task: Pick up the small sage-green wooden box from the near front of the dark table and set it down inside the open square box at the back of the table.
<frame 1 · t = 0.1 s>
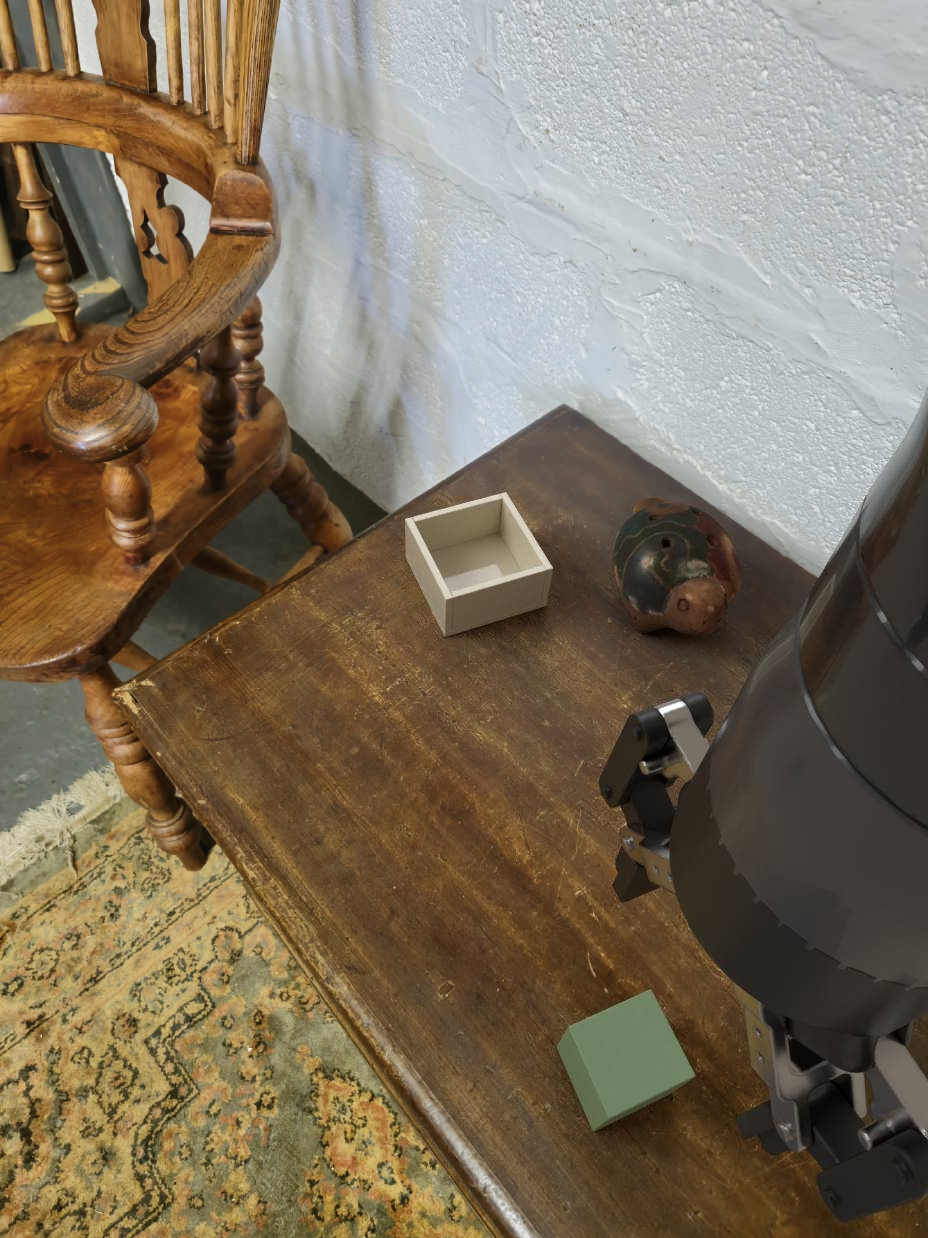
hand: (695, 993, 31), 19 cm above the table, tool pointing down, fingers open, 8 cm apart
green box: (613, 1069, 47), on the table
camera: (771, 800, 58), on the table
decorative turtle: (661, 599, 68), on the table
open square box: (474, 581, 68), on the table
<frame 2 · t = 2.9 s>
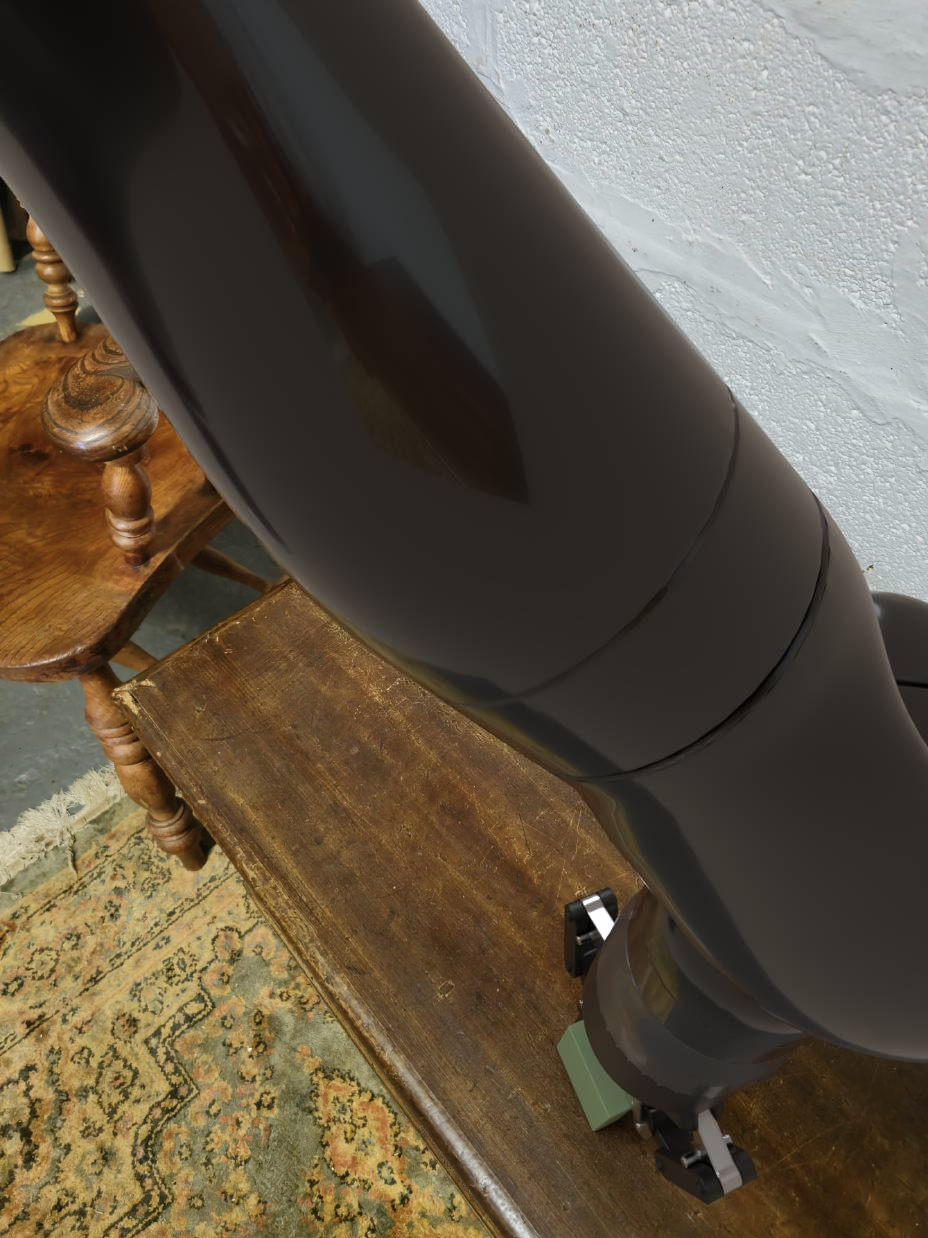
hand: (615, 1068, 47), 0 cm above the table, tool pointing down, fingers closed on green box, 4 cm apart
green box: (613, 1069, 47), on the table, touching gripper
everything else where it was.
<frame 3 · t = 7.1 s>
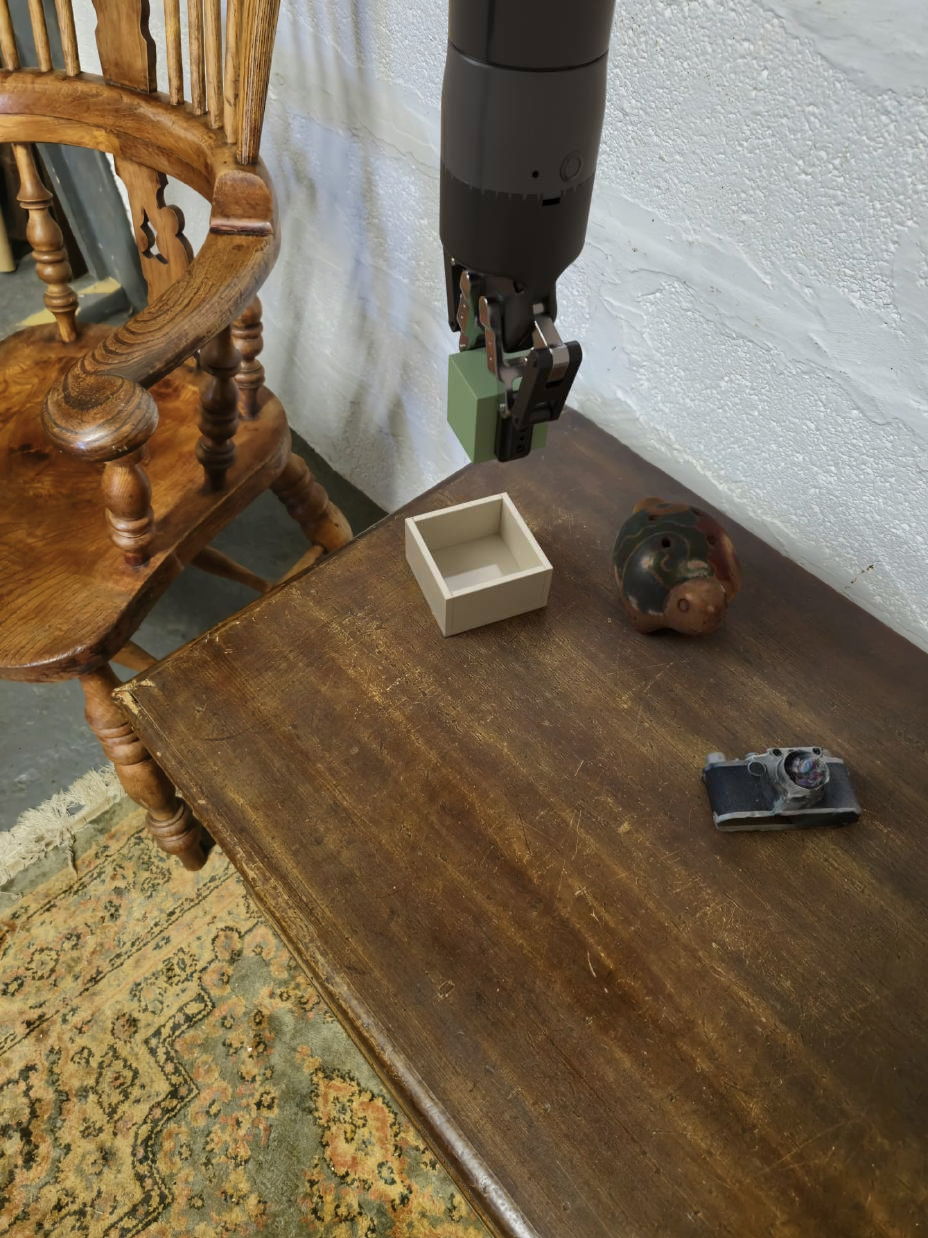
hand: (495, 429, 54), 17 cm above the table, tool pointing down, fingers closed on green box, 4 cm apart
green box: (495, 433, 54), point 17 cm above the table, touching gripper
everything else where it was.
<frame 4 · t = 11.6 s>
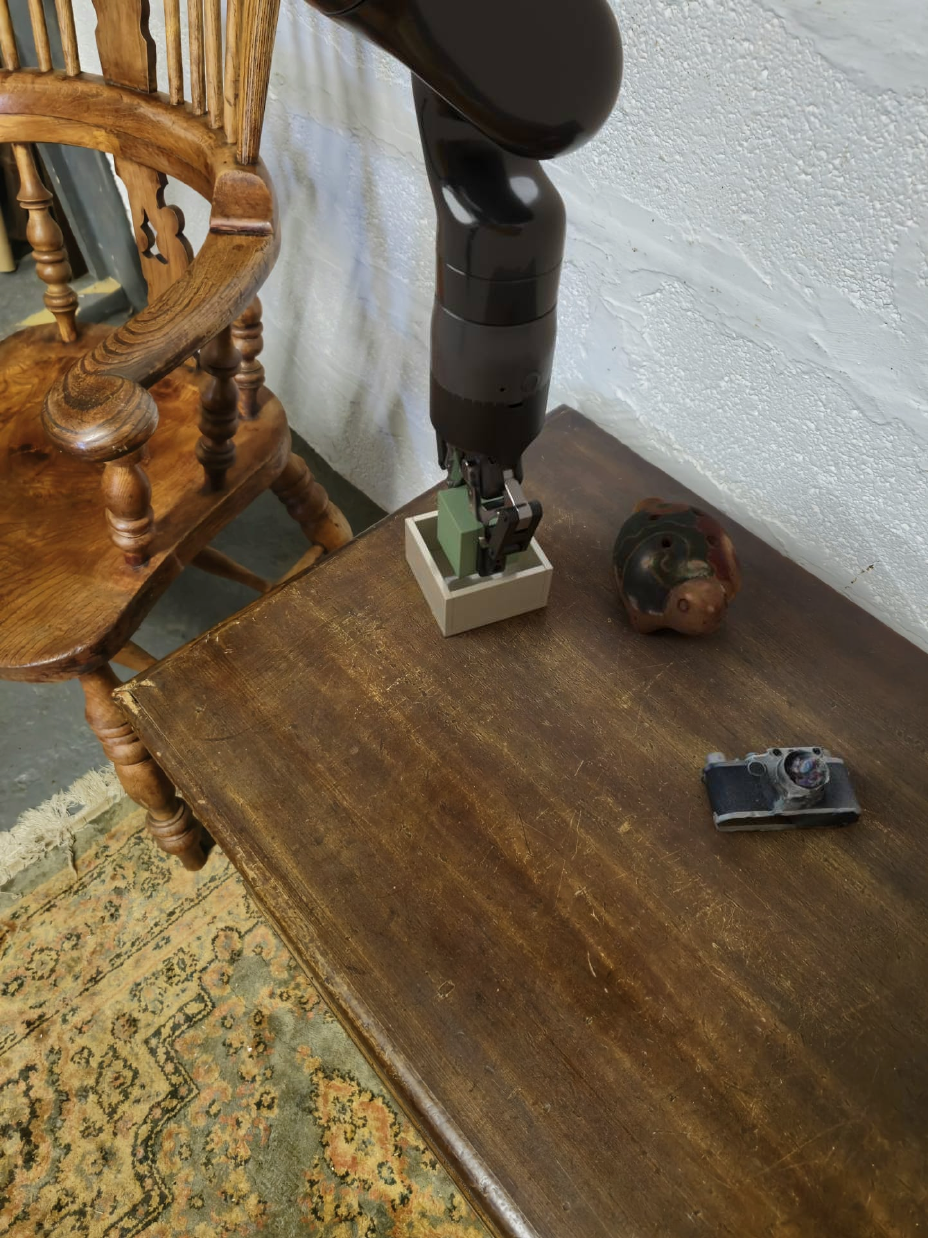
hand: (477, 547, 65), 4 cm above the table, tool pointing down, fingers closed on green box, 4 cm apart
green box: (477, 549, 65), point 4 cm above the table, touching gripper
everything else where it was.
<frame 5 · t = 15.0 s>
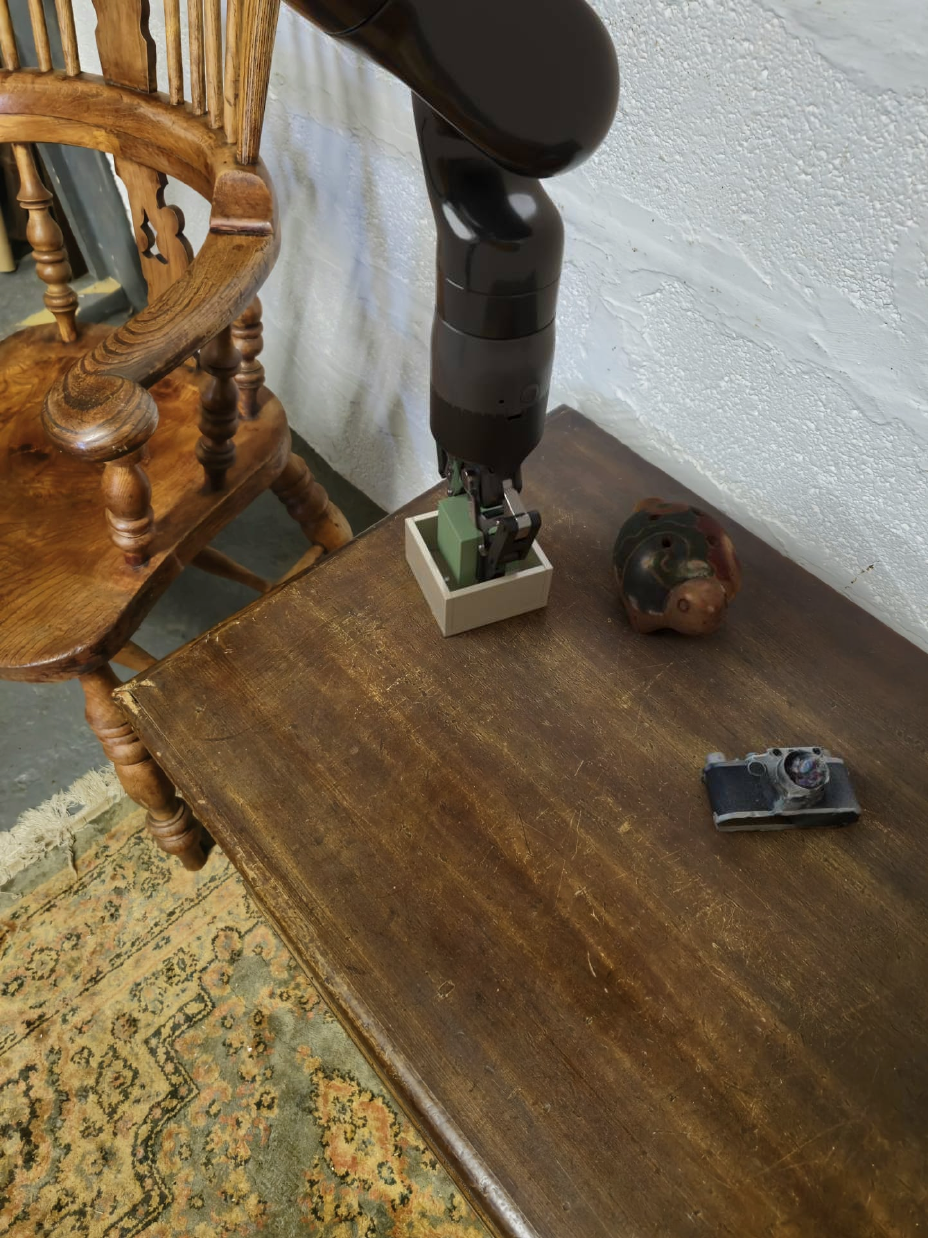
hand: (476, 554, 66), 3 cm above the table, tool pointing down, fingers closed on green box, 4 cm apart
green box: (477, 557, 66), point 3 cm above the table, touching gripper
everything else where it was.
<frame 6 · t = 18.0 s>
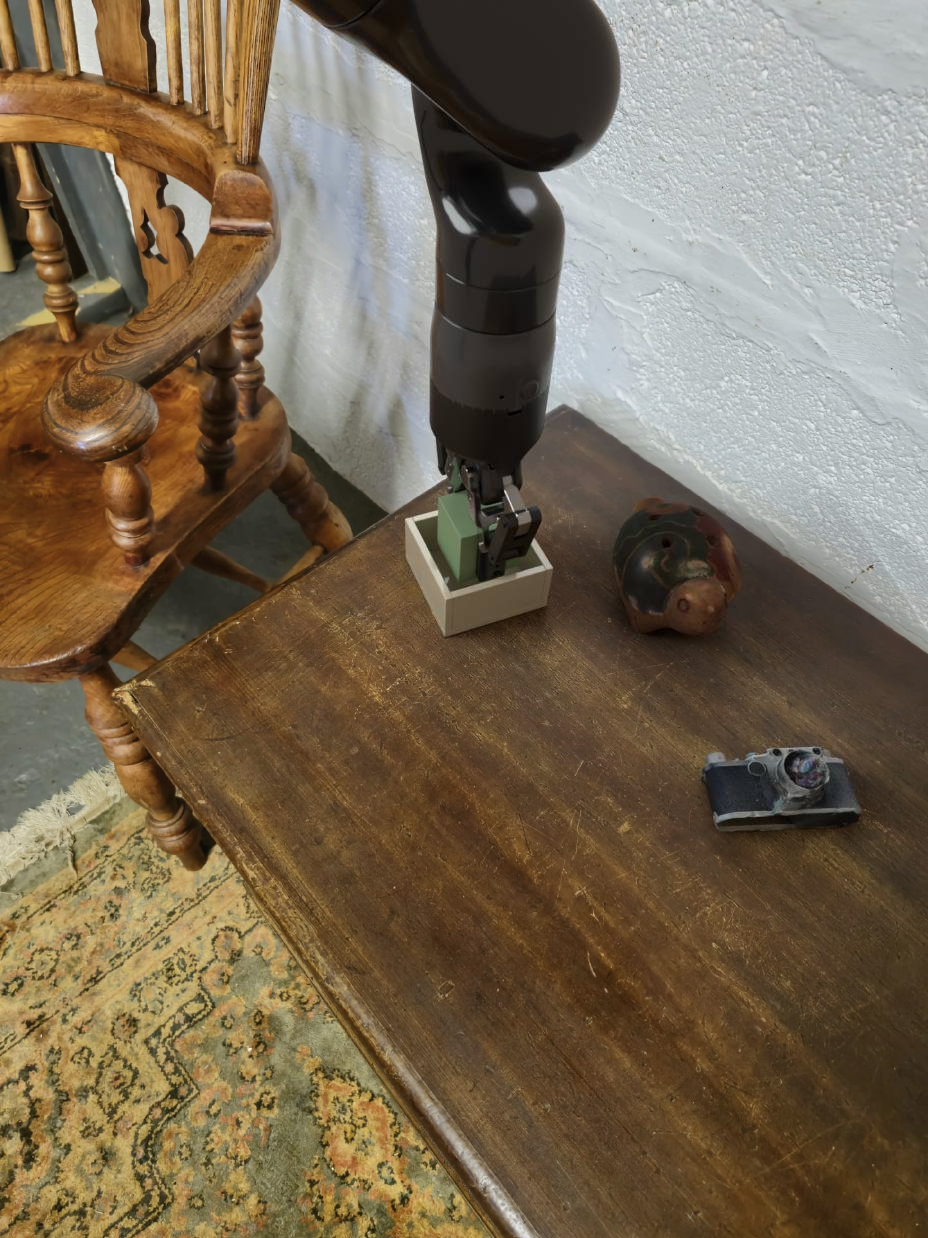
hand: (476, 551, 65), 4 cm above the table, tool pointing down, fingers closed on green box, 4 cm apart
green box: (477, 554, 66), point 3 cm above the table, touching gripper
everything else where it was.
when the fingers open (5 cm above the table, at t = 20.3 s): green box drops 4 cm, resting on open square box.
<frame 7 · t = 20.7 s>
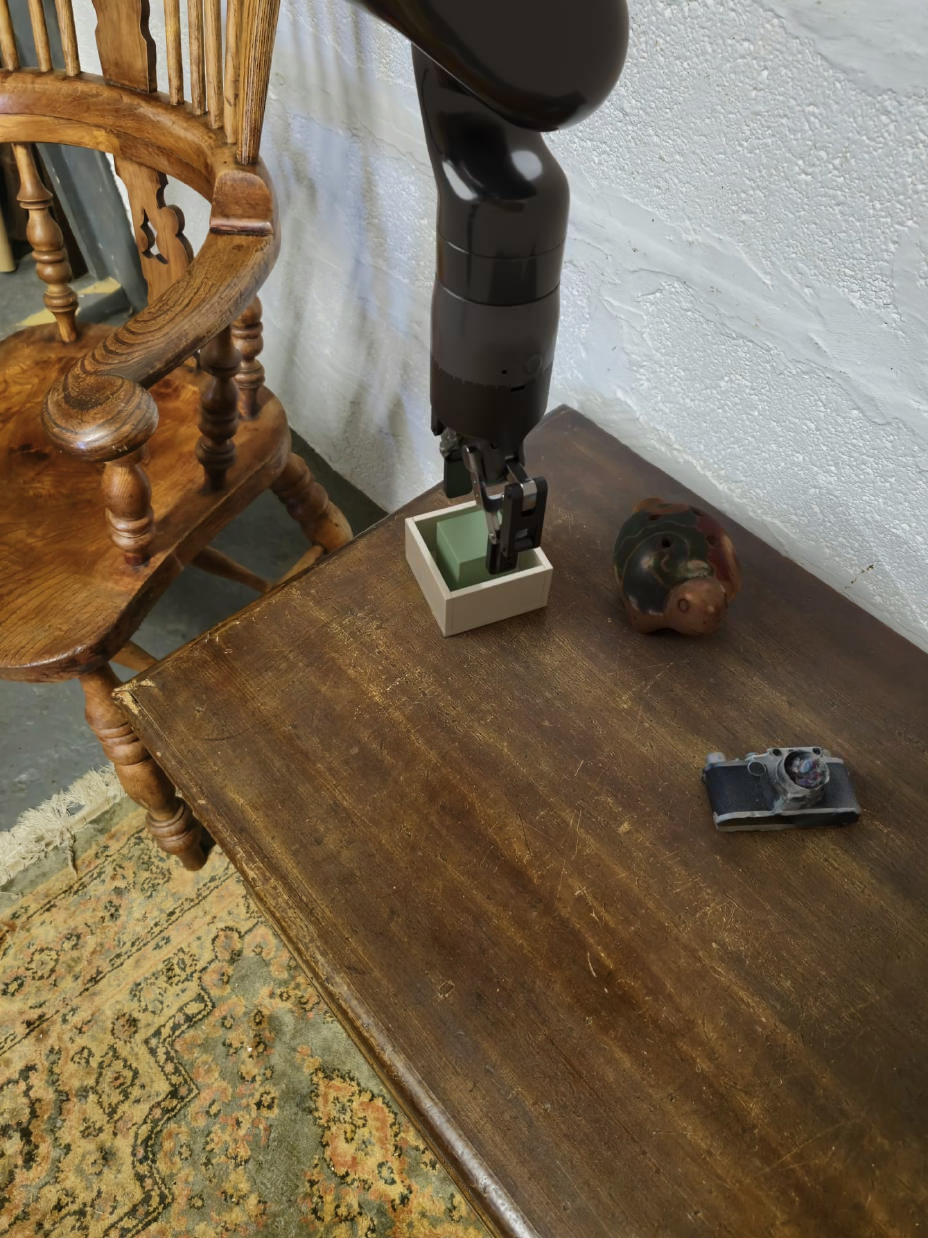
hand: (478, 530, 64), 6 cm above the table, tool pointing down, fingers open, 8 cm apart
green box: (475, 576, 68), point 1 cm above the table, touching open square box
everything else where it was.
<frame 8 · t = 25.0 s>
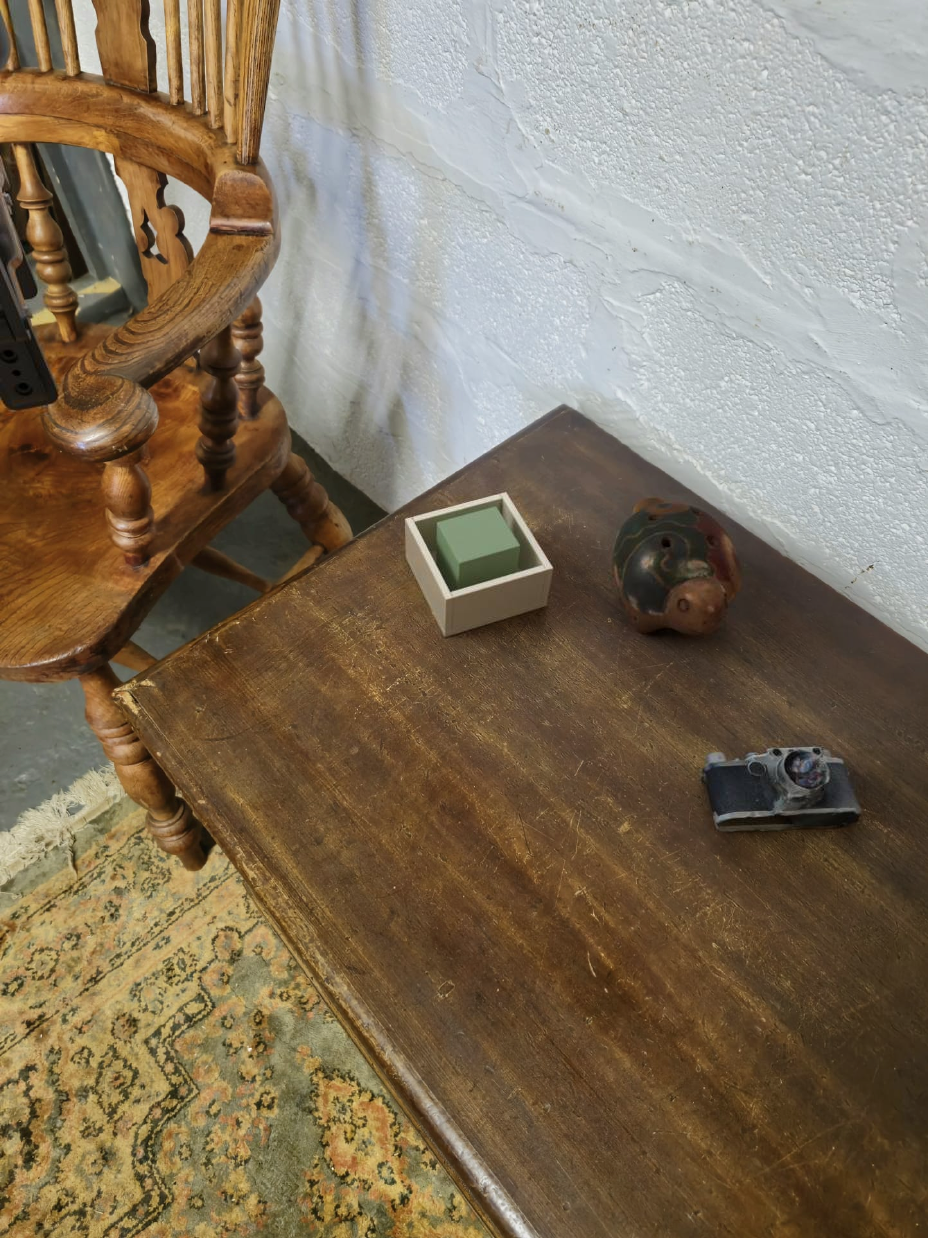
hand: (24, 347, 39), 28 cm above the table, tool pointing down, fingers open, 8 cm apart
nothing on the table moved.
at the end: green box 0.0 cm off-centre in the open square box, point 0.6 cm above the open square box's base; the gripper is holding nothing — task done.
